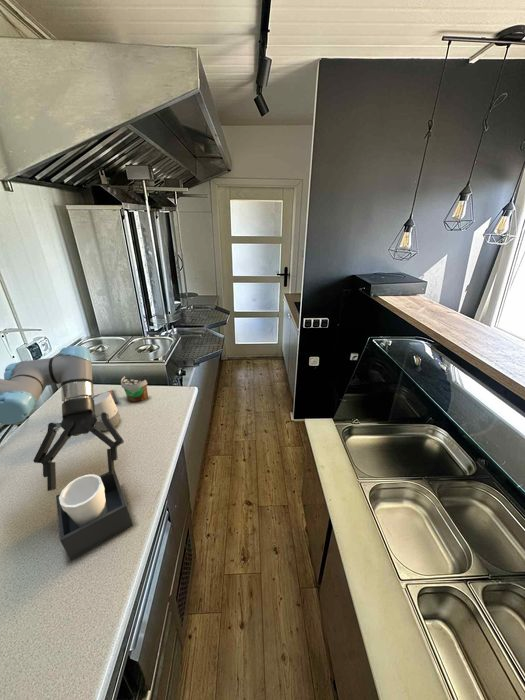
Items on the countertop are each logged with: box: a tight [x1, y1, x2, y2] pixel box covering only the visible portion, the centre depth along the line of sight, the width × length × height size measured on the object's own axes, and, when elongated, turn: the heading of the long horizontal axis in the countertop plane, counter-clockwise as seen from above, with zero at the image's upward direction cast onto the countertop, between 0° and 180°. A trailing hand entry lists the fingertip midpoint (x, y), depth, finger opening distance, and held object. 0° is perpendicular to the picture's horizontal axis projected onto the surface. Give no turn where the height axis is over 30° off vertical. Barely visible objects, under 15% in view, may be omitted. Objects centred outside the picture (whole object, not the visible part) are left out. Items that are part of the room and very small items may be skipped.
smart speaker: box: [93, 391, 121, 432], centre depth 111 cm, size 10×9×14 cm
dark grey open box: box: [55, 471, 134, 561], centre depth 77 cm, size 15×15×8 cm
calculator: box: [92, 389, 119, 405], centre depth 127 cm, size 12×1×15 cm
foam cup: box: [59, 473, 108, 528], centre depth 74 cm, size 10×9×13 cm
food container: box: [120, 375, 149, 404], centre depth 127 cm, size 12×6×10 cm, turn 73°
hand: (82, 482), depth 73 cm, fingers open, 13 cm apart
